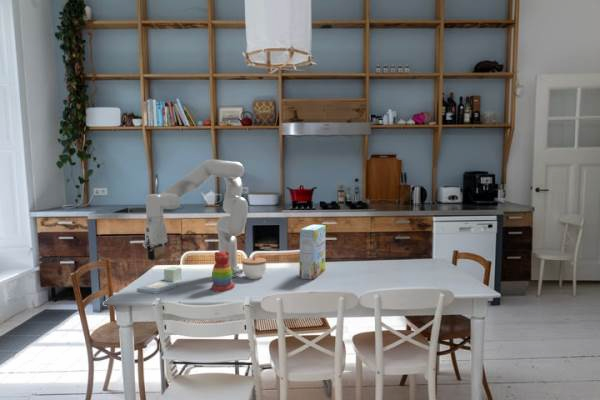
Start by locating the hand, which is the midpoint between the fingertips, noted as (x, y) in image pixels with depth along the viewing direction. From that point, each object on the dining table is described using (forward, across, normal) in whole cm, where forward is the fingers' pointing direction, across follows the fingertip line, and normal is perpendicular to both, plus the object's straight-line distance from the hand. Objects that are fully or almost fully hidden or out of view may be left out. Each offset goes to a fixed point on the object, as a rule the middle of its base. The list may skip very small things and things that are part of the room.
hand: (156, 257), depth 201 cm
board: (+15, 0, 0) cm, 15 cm away
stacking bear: (+15, +12, -29) cm, 35 cm away
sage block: (+15, +15, +4) cm, 22 cm away
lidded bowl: (+15, +36, -32) cm, 51 cm away
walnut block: (+1, 0, 0) cm, 1 cm away
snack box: (+15, +53, -58) cm, 80 cm away
